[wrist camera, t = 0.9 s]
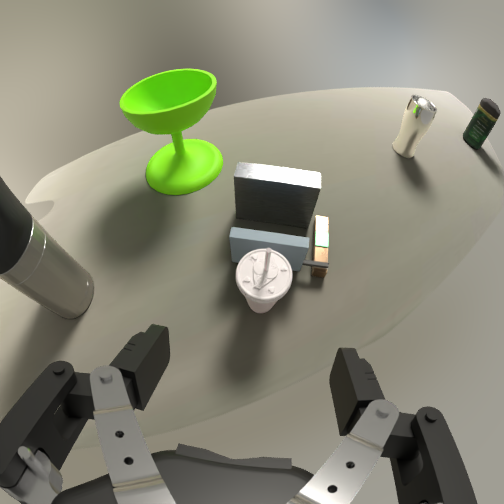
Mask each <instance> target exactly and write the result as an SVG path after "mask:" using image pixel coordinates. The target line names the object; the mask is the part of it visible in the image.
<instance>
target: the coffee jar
mask: <svg viewBox="0 0 504 504" xmlns="http://www.w3.org/2000/svg"><path fill="white" fill-rule="evenodd" d="M499 116H500V110H499V108H498V106H497V105H496V104H495V103H494V102H493V101H492V100H491V99H487V98H483V99H482V100H481V102H480V104H479V106H478V108H477V110H476V112H475V114H474V115H473V117H472V119H471V121H470V123H469V125H468V126H467V128H466V130H465V132H464V133H463V138H464V139H465V140H466V141H467V143H468V144H469V145H470V146H472V147H474V148H475V149H479V148H480V147H481V146H482V144H483V143H484V141H485V139H486V138H487V136H488V135H489V133H490V132H491V130H492V128H493V127H494V125H495V123H496V121H497V119H498V117H499Z"/></svg>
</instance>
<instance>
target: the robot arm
mask: <svg viewBox="0 0 504 504" xmlns="http://www.w3.org/2000/svg"><path fill="white" fill-rule="evenodd" d="M0 278H1V279H2V280H4V281H5V282H7V283H8V284H10V285H11V286H13V287H14V288H16V289H17V290H19V291H20V292H22V293H23V294H25V295H26V296H28V297H29V298H31V299H33V300H34V301H36V302H37V303H39V304H41V305H42V306H44V307H46V308H47V309H49V310H51V311H52V312H54V313H56V314H58V315H60V316H61V317H64V318H66V319H72V318H76V317H78V316H80V315H81V314H82V313H84V311H85V310H86V309H87V308H88V306H89V305H90V302H91V300H92V297H93V290H94V286H93V281H92V278H91V276H90V274H89V273H88V272H87V271H86V270H85V269H84V268H83V267H81V266H80V265H79V264H78V263H77V262H76V261H75V260H74V259H73V258H72V257H71V256H70V255H69V254H68V253H67V252H66V251H65V250H64V249H63V248H62V247H61V246H60V245H59V244H58V243H57V242H56V241H55V240H54V239H53V238H52V237H51V236H50V235H49V234H48V233H47V231H46V230H45V229H44V228H43V227H42V226H41V225H40V224H39V223H38V222H37V221H36V220H35V219H34V217H33V216H32V215H31V214H30V213H29V212H28V211H27V210H26V208H25V207H24V206H23V205H22V204H21V203H20V201H19V200H18V199H17V198H16V197H15V196H14V194H13V193H12V192H11V191H10V189H9V188H8V186H7V185H6V184H5V182H4V181H3V179H2V178H1V177H0ZM169 360H170V345H169V331H168V328H167V327H164V326H159V325H154V324H152V325H151V326H150V327H149V328H148V330H147V331H146V332H145V333H144V332H140V333H138V334H136V335H134V336H133V337H132V338H131V339H130V340H129V341H128V343H127V344H126V345H125V346H124V348H123V349H122V350H121V351H120V352H119V354H118V355H117V356H116V357H115V359H114V360H113V361H112V362H111V364H110V365H109V366H100V367H98V368H96V369H94V370H93V371H92V372H91V374H88V373H78V372H75V371H74V369H73V366H72V365H71V364H70V363H68V362H65V361H57V362H54V363H52V364H50V365H49V366H48V367H47V368H46V369H45V370H44V371H43V372H42V373H41V375H40V376H39V377H38V378H37V379H36V380H35V381H34V383H33V384H32V385H31V386H30V387H29V388H28V390H27V391H26V392H25V393H24V394H23V395H22V397H21V398H20V399H19V400H18V401H17V403H16V404H15V405H14V406H13V408H12V409H11V410H10V411H9V413H8V414H7V415H6V416H5V418H4V419H3V420H2V421H1V423H0V487H1V488H2V489H3V490H4V491H5V492H7V493H8V494H9V495H10V496H11V497H13V498H14V499H16V500H18V501H19V502H20V503H21V504H350V503H351V501H352V500H353V499H354V497H355V496H356V494H357V493H358V491H359V490H360V488H361V487H362V485H363V484H364V482H365V481H366V479H367V478H368V476H369V474H370V472H371V471H372V469H373V468H374V466H375V464H376V463H377V461H378V459H379V457H388V458H390V461H391V466H392V471H393V475H394V480H395V485H396V491H397V496H398V502H399V504H477V501H476V498H475V494H474V491H473V488H472V486H471V482H470V480H469V477H468V474H467V471H466V469H465V466H464V463H463V461H462V458H461V456H460V453H459V451H458V448H457V446H456V444H455V441H454V439H453V436H452V435H451V432H450V430H449V428H448V425H447V423H446V421H445V419H444V417H443V415H442V413H441V412H440V411H439V410H437V409H436V408H433V407H423V408H421V409H419V410H418V412H417V413H416V415H414V414H406V413H401V412H399V410H398V408H397V407H396V405H394V404H393V403H392V402H390V401H387V400H385V398H384V395H383V393H382V390H381V388H380V386H379V383H378V381H377V380H376V376H375V374H374V371H373V369H372V367H371V365H370V364H369V363H368V362H367V361H366V360H365V359H359V356H358V354H357V351H356V349H355V348H339V349H338V351H337V354H336V357H335V361H334V364H333V367H332V370H331V374H330V388H331V393H332V398H333V403H334V407H335V413H336V418H337V423H338V428H339V434H340V436H346V437H345V438H344V440H343V441H342V442H341V444H340V445H339V446H338V447H337V449H336V450H335V451H334V453H333V454H332V455H331V456H330V458H329V459H328V460H327V461H326V462H325V464H324V465H323V466H322V467H321V468H320V469H319V471H318V472H317V473H316V474H315V475H313V474H311V473H310V472H308V471H306V470H304V469H301V468H298V467H295V466H292V465H291V458H271V457H259V458H249V459H230V458H227V457H225V456H222V455H219V454H216V453H214V452H211V451H209V450H206V449H202V448H197V447H192V446H187V445H183V444H178V447H177V450H166V451H160V452H156V453H152V454H150V452H149V449H148V447H147V444H146V442H145V440H144V437H143V435H142V432H141V430H140V427H139V424H138V422H137V419H136V416H135V414H134V409H135V408H136V409H140V410H143V411H144V409H145V407H146V405H147V403H148V401H149V399H150V397H151V396H152V394H153V392H154V390H155V388H156V386H157V384H158V382H159V380H160V379H161V377H162V375H163V373H164V371H165V369H166V367H167V366H168V363H169ZM59 406H60V407H59ZM58 407H59V408H58ZM57 409H58V410H57ZM56 410H57V411H56ZM54 413H55V414H54ZM88 419H94V420H95V424H96V428H97V433H98V437H99V441H100V445H101V449H102V452H103V456H104V459H105V462H106V466H107V469H108V472H109V473H108V474H106V475H104V476H101V477H99V478H97V479H94V480H91V481H89V482H86V483H84V484H81V485H78V486H76V487H73V488H70V489H67V490H65V491H62V492H61V490H62V483H63V478H62V475H61V473H60V471H59V470H60V469H61V467H62V465H63V463H64V461H65V459H66V458H67V456H68V454H69V452H70V450H71V449H72V447H73V445H74V443H75V441H76V440H77V438H78V436H79V434H80V433H81V431H82V429H83V427H84V426H85V424H86V422H87V420H88Z"/></svg>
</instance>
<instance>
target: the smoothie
mask: <svg viewBox="0 0 504 504" xmlns="http://www.w3.org/2000/svg"><path fill="white" fill-rule="evenodd" d="M291 282H292V269H291V266H290V264H289V262H288V260H287V259H286V258H285V257H284V256H283V255H282V254H280V253H278V252H276V251H274V250H272V249H271V248H267V249H257V250H253V251H251V252H249V253H247V254H246V255H245V256H244V257H243V258H242V259H241V260H240V262H239V263H238V266H237V269H236V283H237V286H238V288H239V290H240V292H241V293H242V294H243V295H244V296H245V298H246V300H247V302H248V305H249V307H250V308H251V309H252V310H253V311H254V312H257V313H265V312H267V311H269V310H270V309H271V308H272V307H273V305H274V304H275V303H276V302H277V300H279V299H280V298H282V297H283V296H284V295H285V294H286V293H287V292H288V290H289V288H290V286H291Z"/></svg>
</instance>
